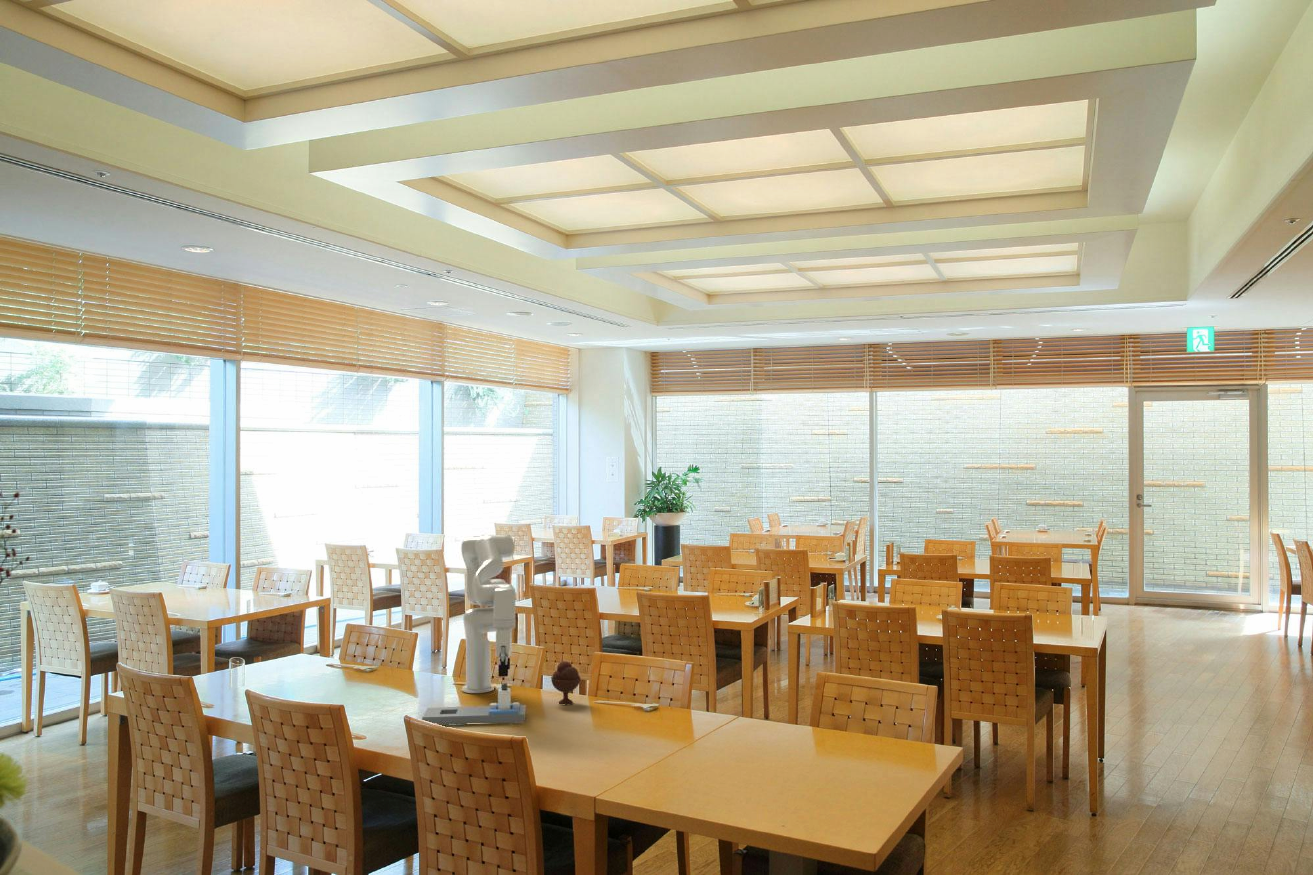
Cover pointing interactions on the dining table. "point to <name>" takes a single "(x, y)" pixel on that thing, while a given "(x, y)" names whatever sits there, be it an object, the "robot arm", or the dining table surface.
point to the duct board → (475, 714)
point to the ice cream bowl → (565, 680)
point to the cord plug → (504, 697)
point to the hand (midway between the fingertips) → (504, 672)
